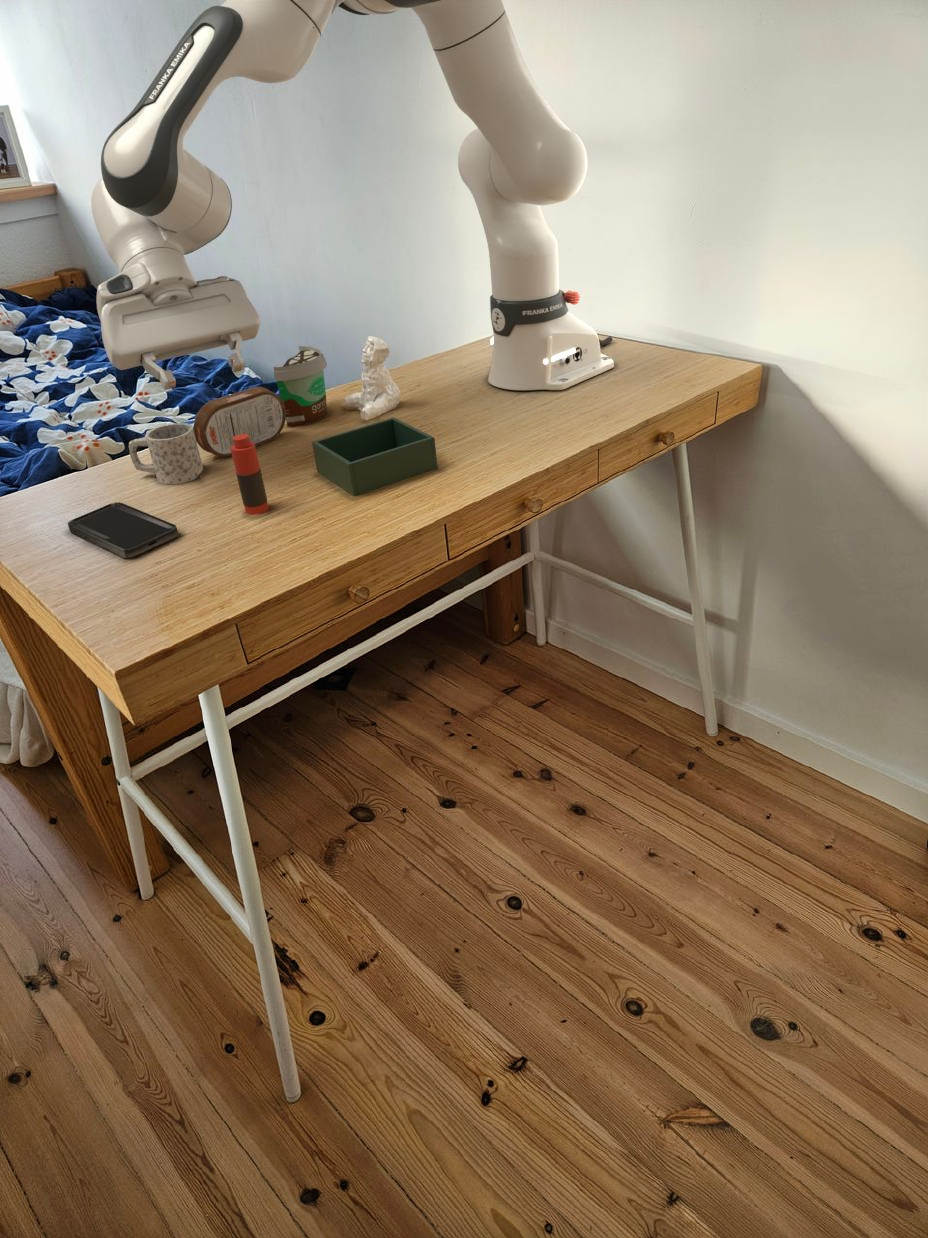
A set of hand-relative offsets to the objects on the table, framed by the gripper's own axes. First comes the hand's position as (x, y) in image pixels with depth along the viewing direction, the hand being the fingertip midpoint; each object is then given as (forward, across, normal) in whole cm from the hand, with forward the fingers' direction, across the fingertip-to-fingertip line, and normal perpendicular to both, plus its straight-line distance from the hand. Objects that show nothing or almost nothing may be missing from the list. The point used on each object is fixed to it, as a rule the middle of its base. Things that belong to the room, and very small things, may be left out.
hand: (205, 377), depth 116 cm
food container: (-2, -22, -24) cm, 33 cm away
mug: (+3, +5, -19) cm, 20 cm away
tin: (+2, -8, -21) cm, 22 cm away
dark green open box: (+18, -18, -4) cm, 26 cm away
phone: (+14, +16, -9) cm, 23 cm away
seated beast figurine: (+2, -31, -21) cm, 37 cm away
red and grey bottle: (+18, 0, -4) cm, 19 cm away
